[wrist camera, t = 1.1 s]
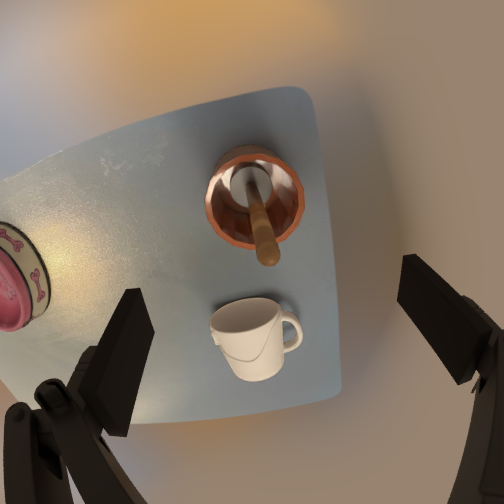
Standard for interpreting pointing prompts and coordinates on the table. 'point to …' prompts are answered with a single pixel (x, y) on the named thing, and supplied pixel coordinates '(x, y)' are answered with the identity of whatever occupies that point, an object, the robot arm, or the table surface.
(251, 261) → the table surface
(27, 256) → the dog bowl
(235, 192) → the toilet plunger
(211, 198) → the crock
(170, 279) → the table surface
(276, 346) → the mug
